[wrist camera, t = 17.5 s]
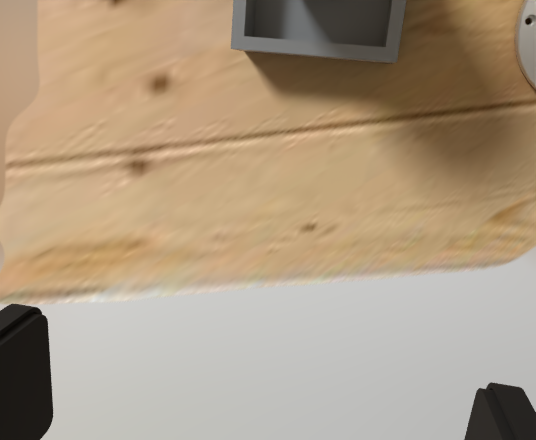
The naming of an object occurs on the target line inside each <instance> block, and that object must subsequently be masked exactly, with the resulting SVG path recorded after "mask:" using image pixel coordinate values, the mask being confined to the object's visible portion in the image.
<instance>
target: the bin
mask: <svg viewBox="0 0 536 440" xmlns="http://www.w3.org/2000/svg"><path fill="white" fill-rule="evenodd" d="M405 6H406V0H234V1H233V19H232V37H231V49H235V50H240V51H245V52H257V53H269V54H282V55H294V56H306V57H318V58H330V59H342V60H354V61H366V62H378V63H391V64H392V63H396V62H397V58H398V52H399V45H400V39H401V32H402V26H403V19H404V13H405Z"/></svg>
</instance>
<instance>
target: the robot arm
mask: <svg viewBox="0 0 536 440" xmlns="http://www.w3.org/2000/svg"><path fill="white" fill-rule="evenodd" d="M527 18H529V19H530V24H529V25H527V24H526V23H525V20H526V19H527ZM515 48H516V56H517V59H518V62H519V65H520V68H521V70H522V72H523V74H524V75H525V77H526V79H527V80H528V82H529V83H530V84H531V85H532V86H533V87H534V88H535V89H536V0H524V2H523V4H522V6H521V8H520V11H519V15H518V19H517V23H516V30H515ZM52 418H53V402H52V386H51V369H50V352H49V337H48V321H47V318H46V316H44V315H42V312H41V310H40V309H39V308H37V307H31V306H25V305H19V304H11V305H9V306H7V307H5V308H4V309H2V310H1V311H0V440H40V439H41V438H42V437H43V435H44V434H45V433H46V432H47V430H48V429H49V427H50V425H51V422H52ZM465 440H536V412H535V411H534V409H533V407H532V405H531V403H530V401H529V399H528V397H527V396H526V394H525V392H524V390H523V389H522V388H520V387H515V386H508V385H503V384H497V383H490V384H488V386H487V388H486V389H481V388H479V389H478V390H477V393H476V396H475V400H474V404H473V408H472V412H471V415H470V419H469V423H468V427H467V432H466V436H465Z"/></svg>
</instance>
